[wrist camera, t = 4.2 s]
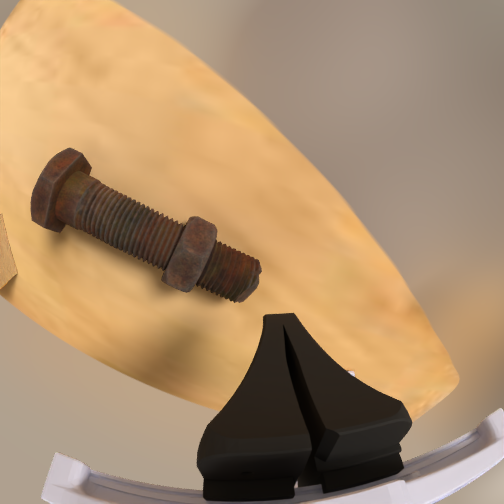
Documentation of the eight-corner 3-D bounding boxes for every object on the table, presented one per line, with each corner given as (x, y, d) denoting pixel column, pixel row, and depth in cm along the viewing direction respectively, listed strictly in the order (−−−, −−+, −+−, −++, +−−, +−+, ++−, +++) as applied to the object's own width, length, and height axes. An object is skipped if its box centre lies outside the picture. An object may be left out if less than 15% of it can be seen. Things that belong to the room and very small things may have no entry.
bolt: (243, 265, 22) (76, 184, 18) (277, 230, 18) (78, 133, 14) (226, 333, 18) (33, 239, 14) (263, 310, 14) (20, 190, 10)
